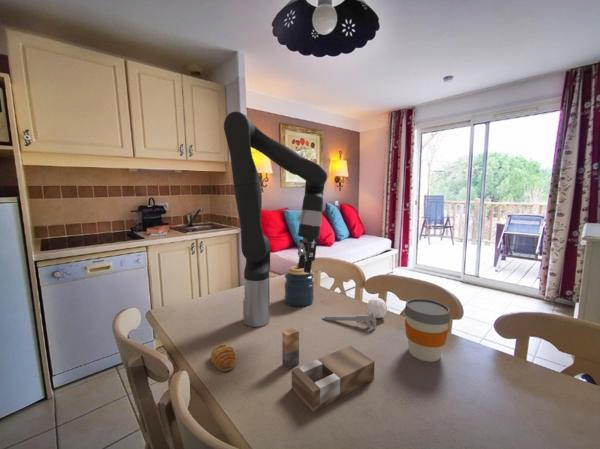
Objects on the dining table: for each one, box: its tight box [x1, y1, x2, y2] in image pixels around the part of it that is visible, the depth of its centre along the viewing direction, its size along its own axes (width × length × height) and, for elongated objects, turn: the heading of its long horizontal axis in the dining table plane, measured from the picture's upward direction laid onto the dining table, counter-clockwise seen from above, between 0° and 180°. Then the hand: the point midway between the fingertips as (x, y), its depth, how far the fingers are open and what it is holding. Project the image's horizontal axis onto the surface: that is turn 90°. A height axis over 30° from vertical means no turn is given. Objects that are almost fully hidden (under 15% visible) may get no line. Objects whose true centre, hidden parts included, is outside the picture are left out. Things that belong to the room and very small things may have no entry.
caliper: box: [321, 312, 377, 330], centre depth 104 cm, size 20×1×6 cm, turn 67°
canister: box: [284, 262, 315, 308], centre depth 124 cm, size 13×13×18 cm
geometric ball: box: [366, 297, 388, 319], centre depth 110 cm, size 8×8×8 cm
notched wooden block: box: [291, 345, 375, 413], centre depth 72 cm, size 20×9×5 cm, turn 124°
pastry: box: [210, 343, 237, 373], centre depth 80 cm, size 9×7×4 cm
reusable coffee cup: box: [404, 298, 451, 363], centre depth 85 cm, size 13×12×15 cm
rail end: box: [281, 327, 300, 370], centre depth 79 cm, size 4×2×10 cm, turn 124°
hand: (303, 270), depth 97 cm, fingers open, 8 cm apart
